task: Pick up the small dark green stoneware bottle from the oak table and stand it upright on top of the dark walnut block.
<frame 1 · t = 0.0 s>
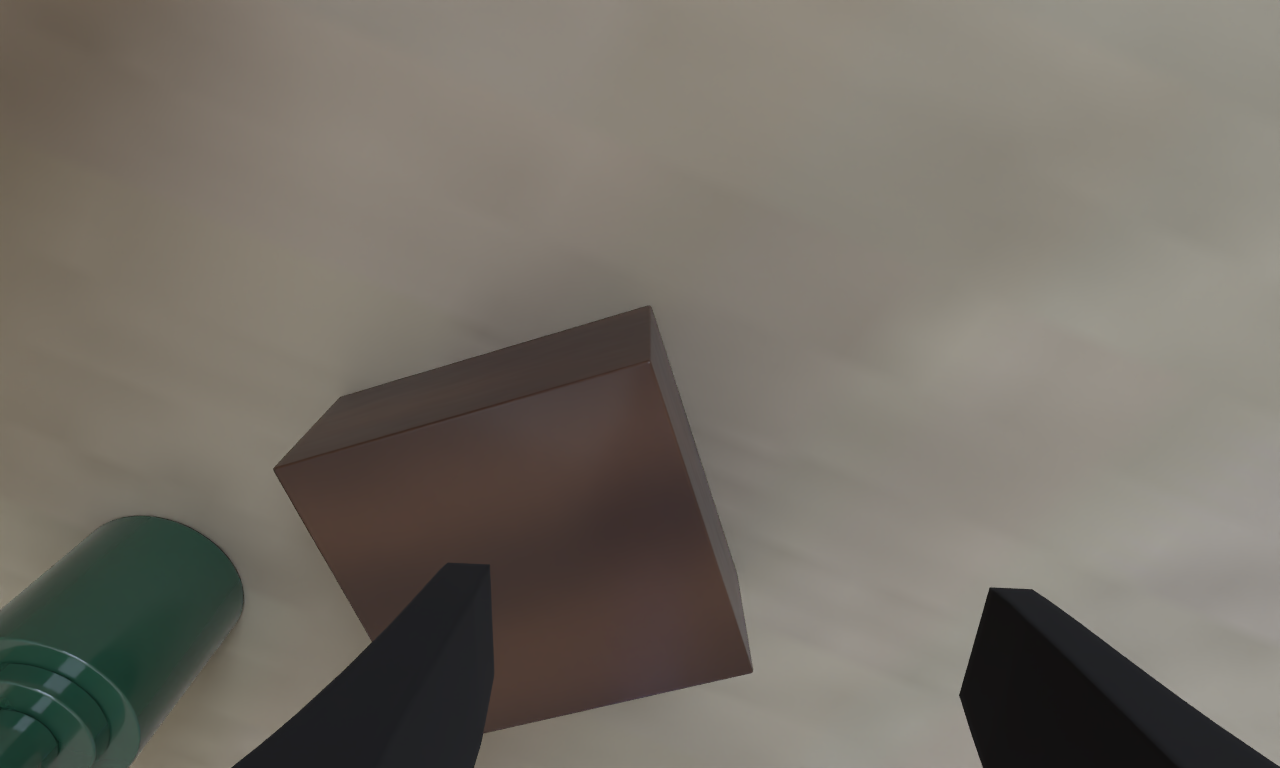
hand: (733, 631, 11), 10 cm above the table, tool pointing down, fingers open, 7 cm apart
block: (548, 490, 22), on the table
bottle: (162, 583, 23), on the table
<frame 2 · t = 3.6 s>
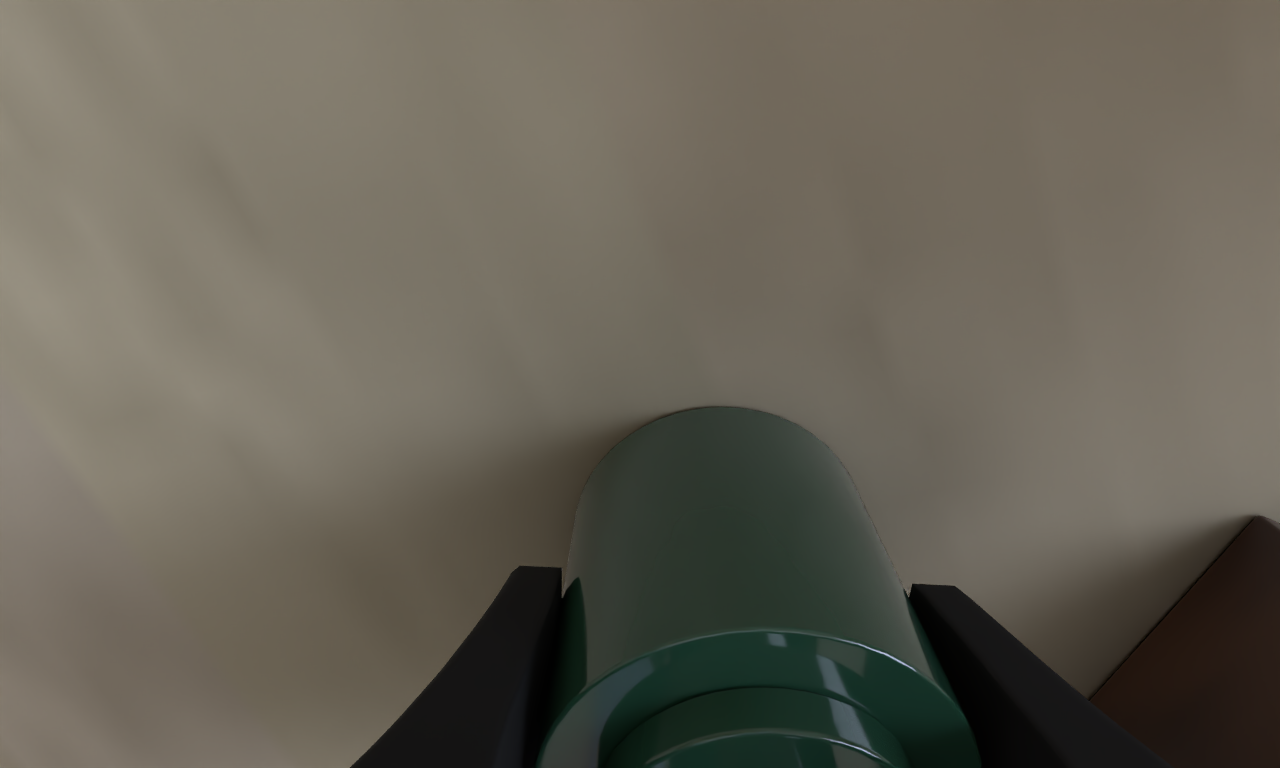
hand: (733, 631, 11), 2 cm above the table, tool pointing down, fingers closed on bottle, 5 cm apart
block: (1278, 764, 15), on the table
bottle: (717, 535, 13), on the table, touching gripper
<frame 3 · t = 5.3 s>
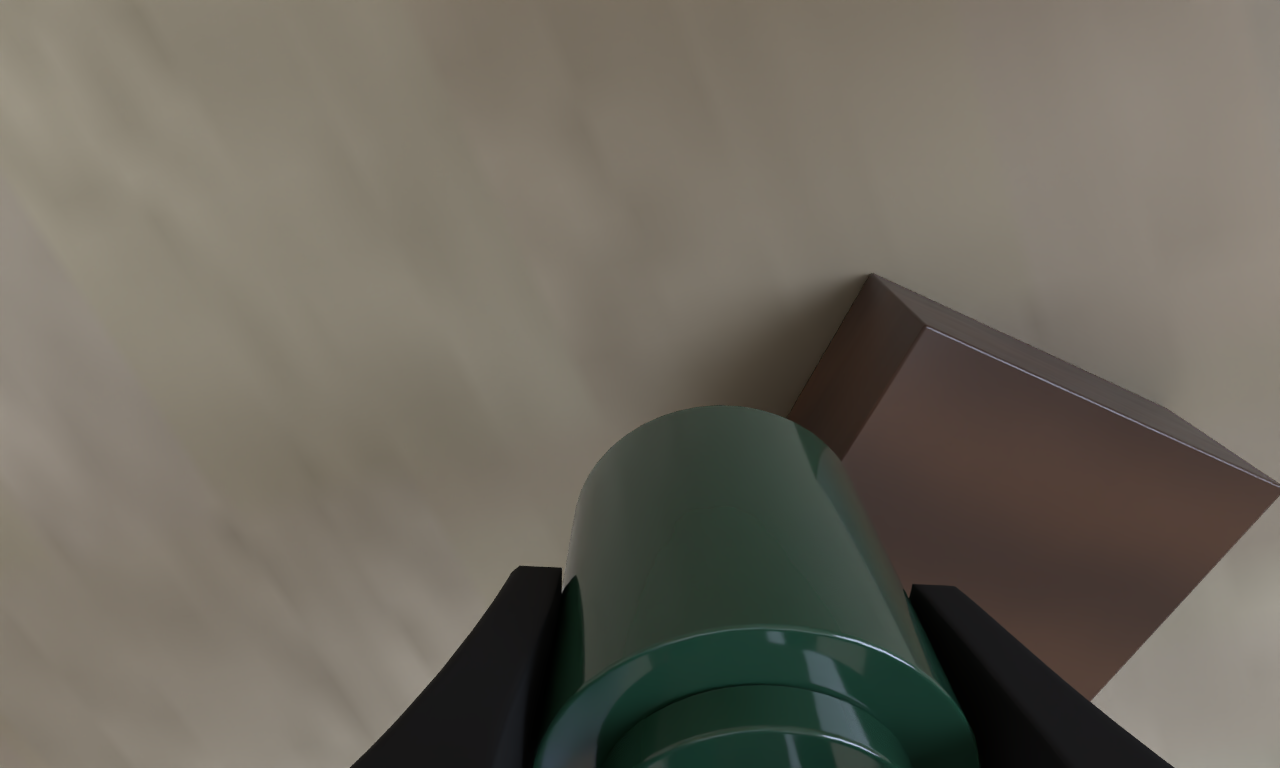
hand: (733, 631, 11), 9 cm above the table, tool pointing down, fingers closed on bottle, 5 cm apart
block: (927, 482, 21), on the table
bottle: (716, 533, 13), point 7 cm above the table, touching gripper
when the fingers open (6 cm above the table, at t = 7.4 s): bottle stays where it is, resting on block.
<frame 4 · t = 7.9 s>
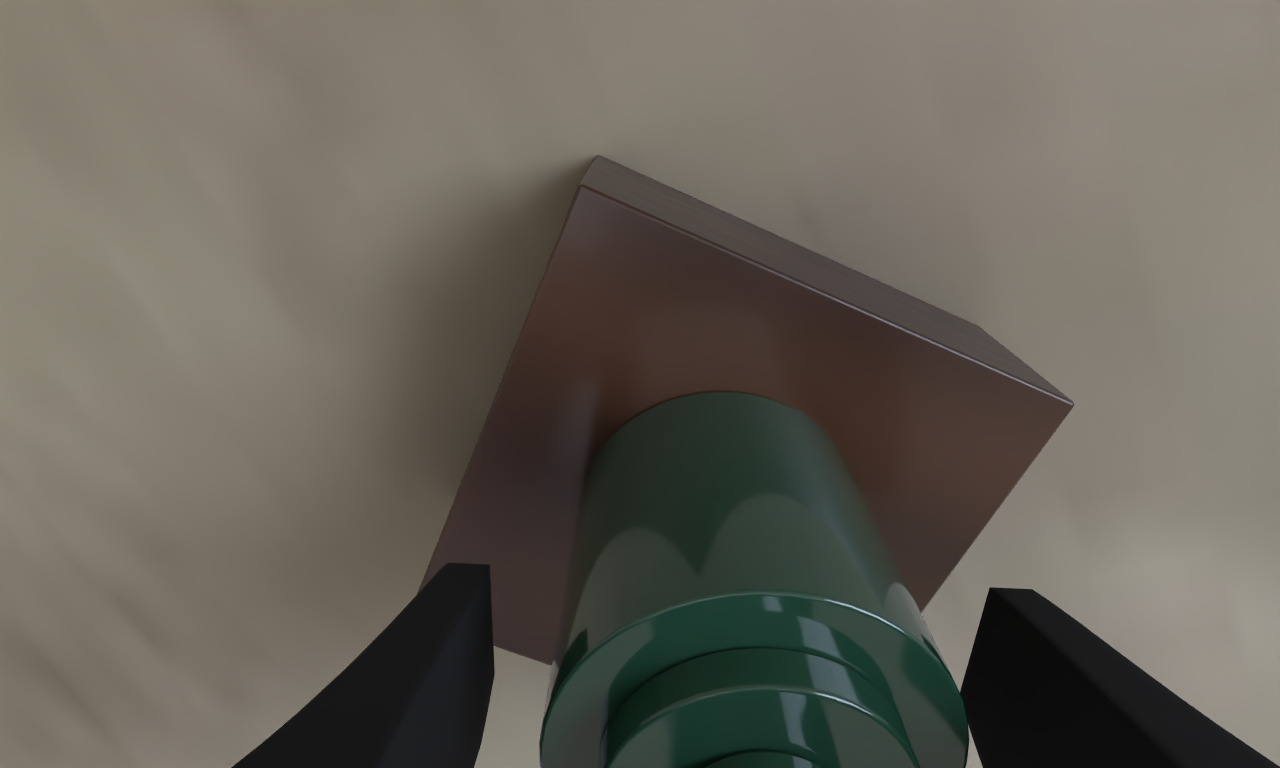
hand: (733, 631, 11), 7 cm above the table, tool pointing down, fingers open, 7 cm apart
block: (703, 421, 17), on the table, touching bottle
bottle: (716, 517, 14), point 4 cm above the table, touching block
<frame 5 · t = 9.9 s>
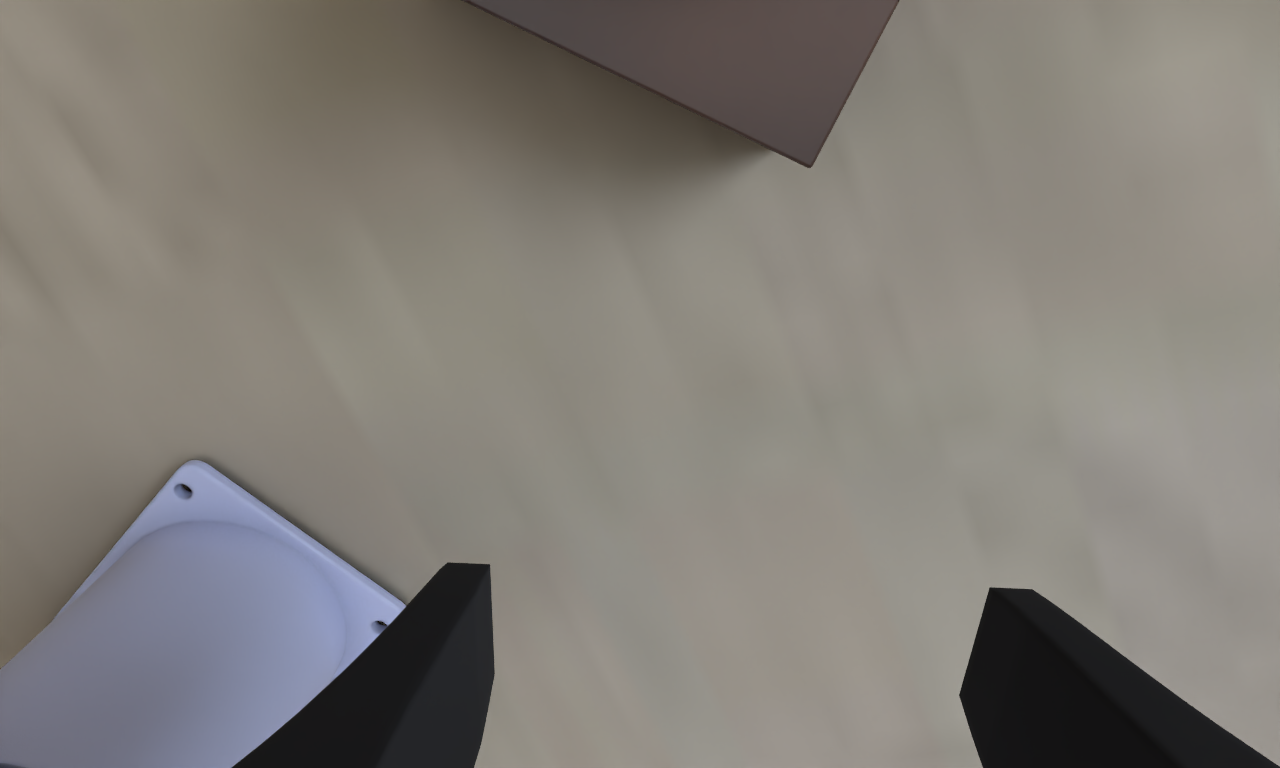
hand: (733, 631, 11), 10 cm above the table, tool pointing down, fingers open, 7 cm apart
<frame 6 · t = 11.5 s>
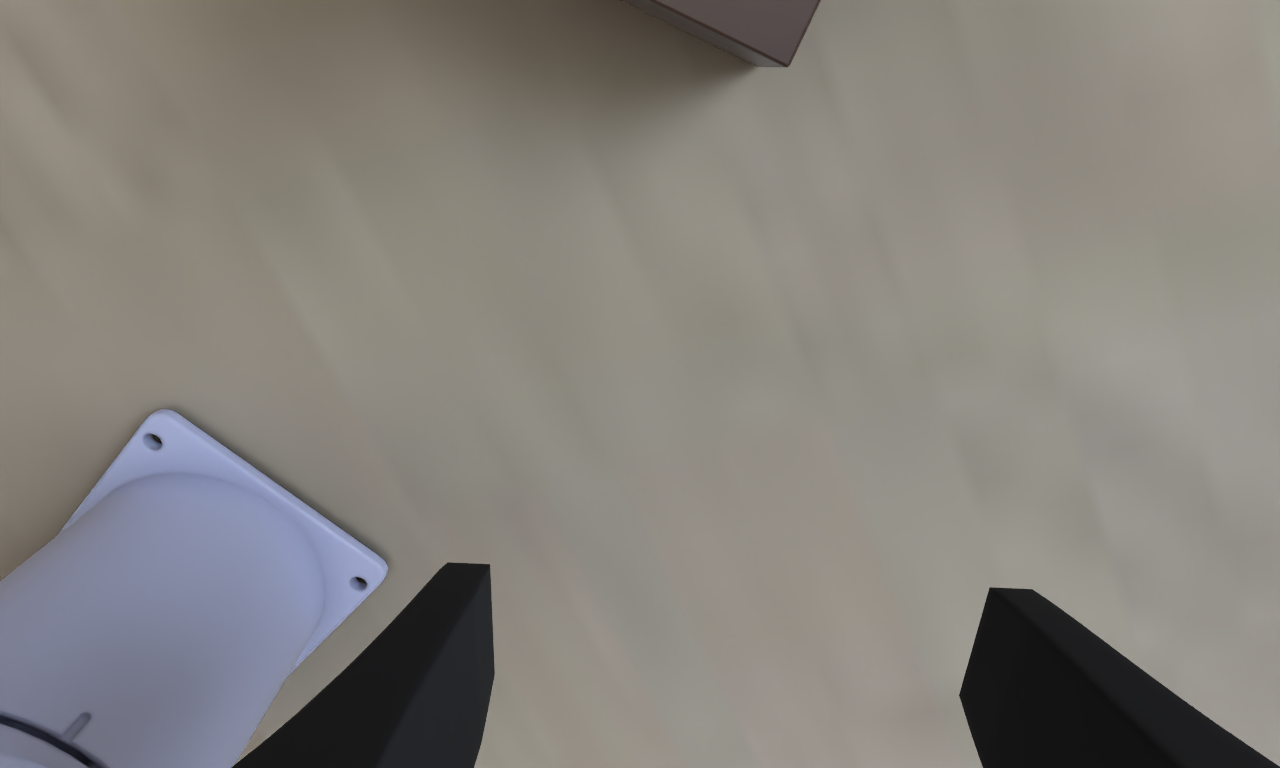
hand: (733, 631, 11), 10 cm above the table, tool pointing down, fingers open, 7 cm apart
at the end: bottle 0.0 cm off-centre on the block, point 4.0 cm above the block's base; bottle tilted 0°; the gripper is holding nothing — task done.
